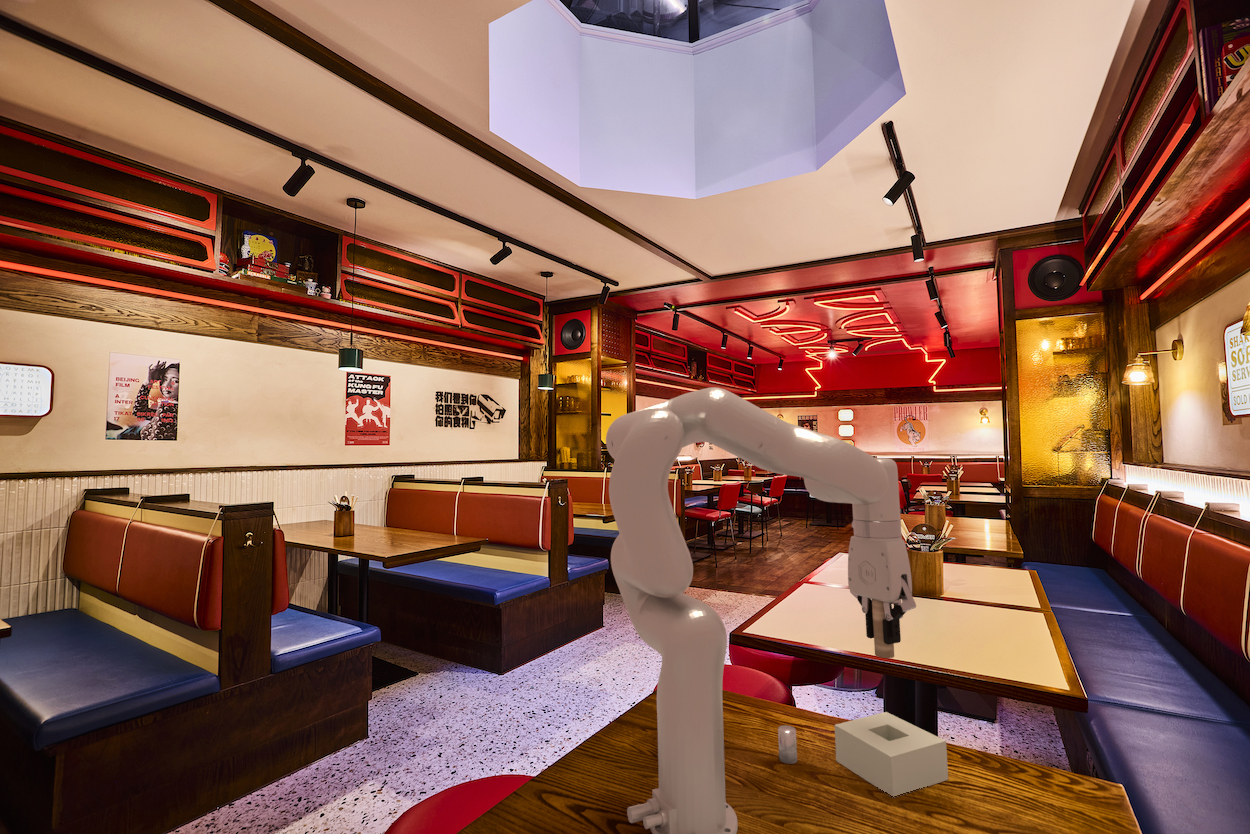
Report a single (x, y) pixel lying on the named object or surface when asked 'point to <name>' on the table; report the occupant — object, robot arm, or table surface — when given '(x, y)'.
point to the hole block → (891, 753)
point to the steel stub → (787, 744)
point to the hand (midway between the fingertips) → (883, 638)
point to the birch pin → (880, 631)
